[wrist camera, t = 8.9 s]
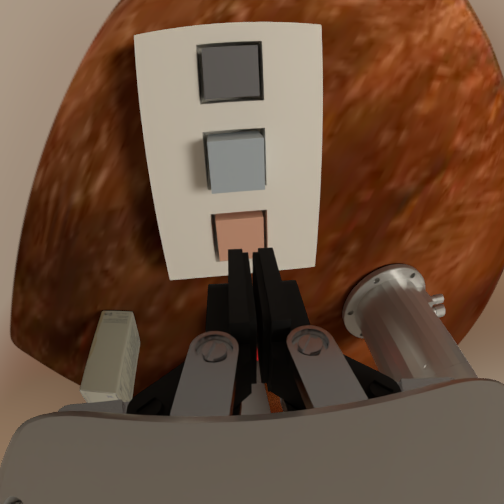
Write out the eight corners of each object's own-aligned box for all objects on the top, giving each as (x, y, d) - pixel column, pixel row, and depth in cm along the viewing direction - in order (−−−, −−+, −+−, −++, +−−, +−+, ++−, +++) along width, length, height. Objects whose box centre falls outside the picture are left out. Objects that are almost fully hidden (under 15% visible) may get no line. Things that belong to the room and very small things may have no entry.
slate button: (258, 130, 24) (263, 137, 21) (259, 177, 26) (265, 189, 23) (208, 134, 23) (207, 141, 21) (212, 180, 25) (211, 193, 23)
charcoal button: (253, 48, 21) (257, 45, 18) (254, 93, 23) (259, 96, 21) (203, 51, 21) (201, 48, 18) (206, 97, 23) (204, 99, 20)
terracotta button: (258, 203, 29) (263, 216, 26) (260, 240, 31) (264, 257, 28) (215, 206, 28) (215, 221, 26) (219, 244, 30) (219, 261, 28)
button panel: (307, 31, 22) (321, 24, 18) (304, 245, 33) (314, 266, 30) (145, 40, 21) (133, 35, 17) (174, 257, 32) (170, 280, 29)
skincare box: (101, 308, 35) (76, 388, 25) (134, 310, 36) (116, 393, 26) (112, 342, 38) (94, 417, 28) (142, 344, 39) (130, 421, 29)
